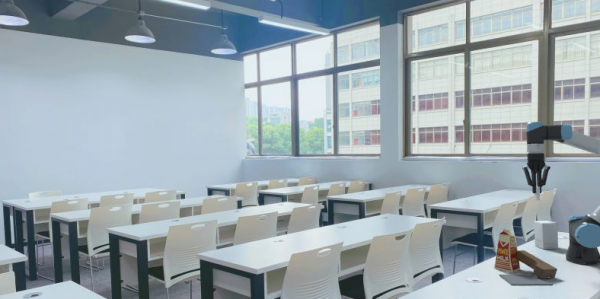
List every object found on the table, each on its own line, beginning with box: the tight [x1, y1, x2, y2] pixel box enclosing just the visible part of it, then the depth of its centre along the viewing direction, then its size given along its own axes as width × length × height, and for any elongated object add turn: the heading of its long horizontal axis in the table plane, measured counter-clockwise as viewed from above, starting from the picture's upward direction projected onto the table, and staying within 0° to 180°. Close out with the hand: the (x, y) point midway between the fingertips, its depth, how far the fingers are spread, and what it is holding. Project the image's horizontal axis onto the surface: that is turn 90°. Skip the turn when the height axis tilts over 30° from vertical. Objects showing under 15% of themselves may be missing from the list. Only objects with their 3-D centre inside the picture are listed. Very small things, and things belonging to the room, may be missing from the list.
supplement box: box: [533, 220, 559, 250], centre depth 245 cm, size 9×9×15 cm
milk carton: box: [493, 228, 521, 273], centre depth 206 cm, size 9×9×20 cm
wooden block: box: [516, 249, 558, 279], centre depth 195 cm, size 9×4×18 cm
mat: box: [498, 273, 554, 286], centre depth 188 cm, size 17×14×1 cm
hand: (537, 199), depth 211 cm, fingers closed
